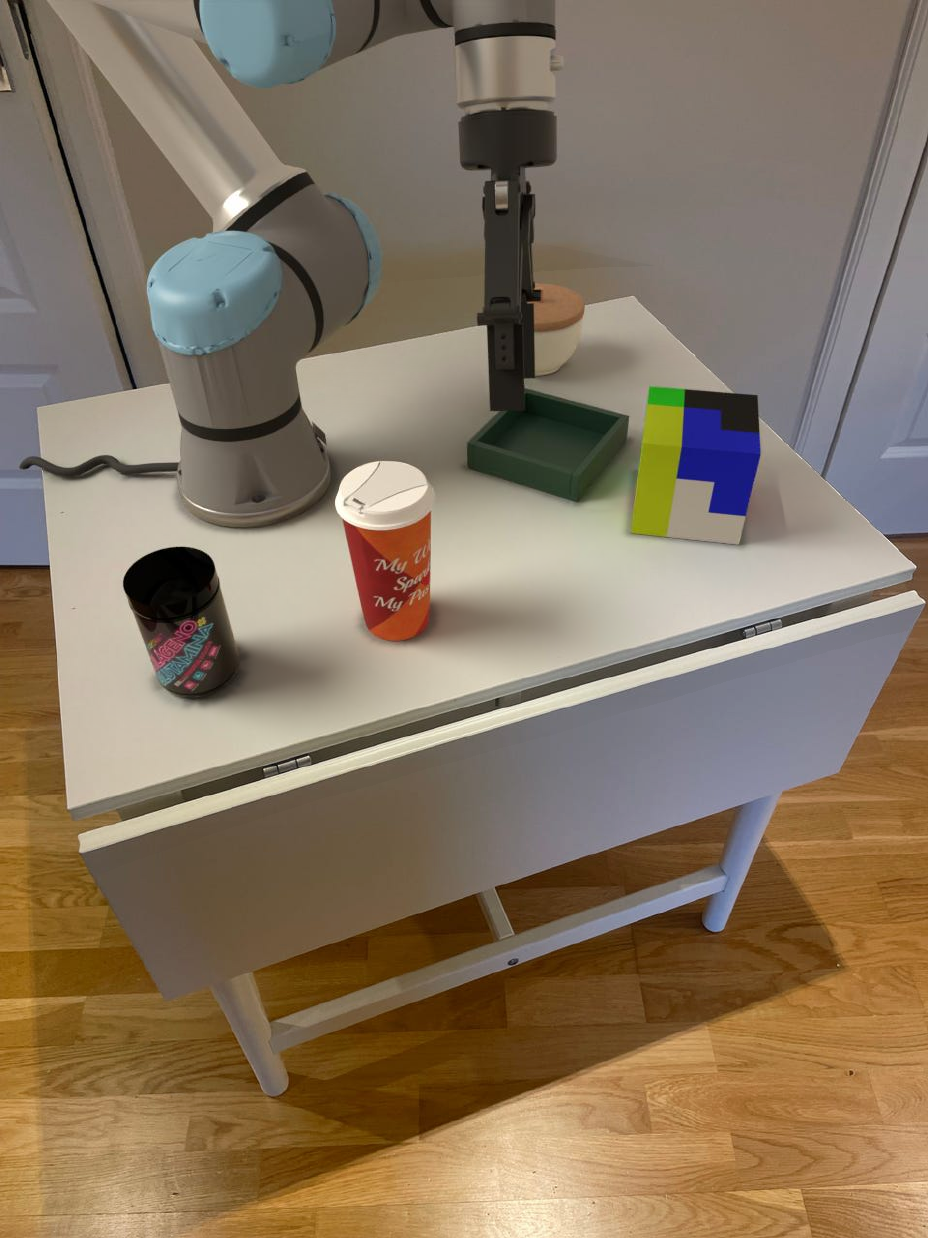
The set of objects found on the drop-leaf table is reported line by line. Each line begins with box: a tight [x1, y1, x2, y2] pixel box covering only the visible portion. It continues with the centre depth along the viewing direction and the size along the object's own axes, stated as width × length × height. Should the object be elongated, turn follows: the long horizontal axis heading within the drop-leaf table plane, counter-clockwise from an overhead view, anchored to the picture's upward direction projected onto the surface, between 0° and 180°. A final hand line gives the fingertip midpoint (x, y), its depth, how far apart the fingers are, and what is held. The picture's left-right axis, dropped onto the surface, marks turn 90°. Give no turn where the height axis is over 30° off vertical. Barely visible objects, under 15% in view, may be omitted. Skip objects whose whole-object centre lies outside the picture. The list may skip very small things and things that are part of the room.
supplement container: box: [122, 546, 241, 698], centre depth 71 cm, size 7×7×10 cm
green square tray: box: [466, 387, 630, 503], centre depth 95 cm, size 13×13×3 cm
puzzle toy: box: [630, 385, 762, 546], centre depth 86 cm, size 10×10×10 cm
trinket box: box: [527, 282, 586, 377], centre depth 107 cm, size 11×11×9 cm
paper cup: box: [334, 460, 436, 642], centre depth 74 cm, size 8×8×14 cm
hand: (514, 393), depth 78 cm, fingers open, 13 cm apart
